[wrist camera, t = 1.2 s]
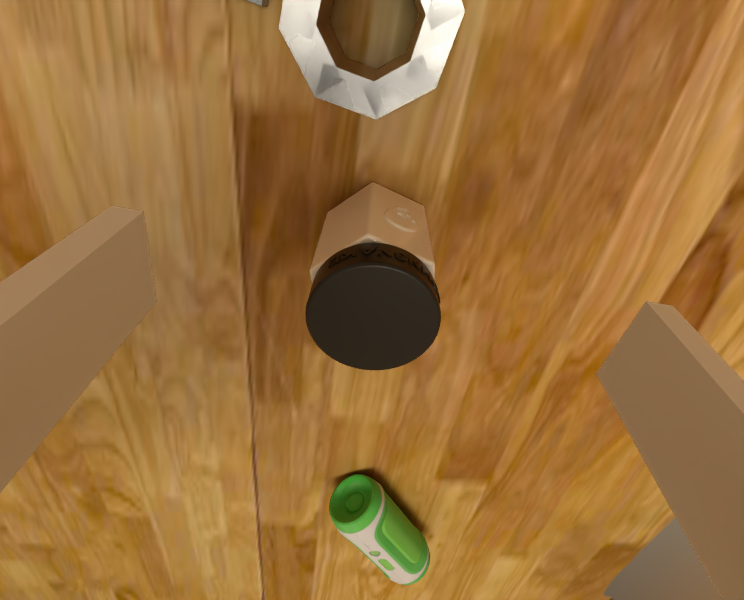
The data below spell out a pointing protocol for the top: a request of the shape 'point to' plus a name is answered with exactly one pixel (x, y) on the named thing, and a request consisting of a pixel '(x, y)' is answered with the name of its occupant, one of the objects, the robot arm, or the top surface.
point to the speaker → (379, 529)
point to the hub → (361, 82)
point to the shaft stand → (260, 2)
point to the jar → (374, 282)
